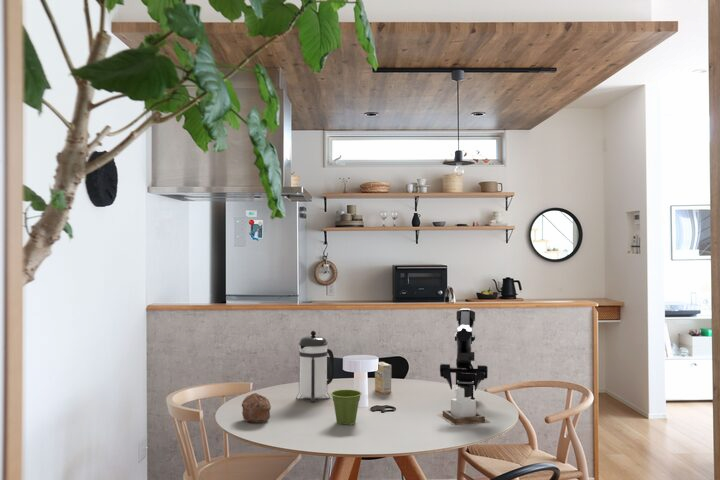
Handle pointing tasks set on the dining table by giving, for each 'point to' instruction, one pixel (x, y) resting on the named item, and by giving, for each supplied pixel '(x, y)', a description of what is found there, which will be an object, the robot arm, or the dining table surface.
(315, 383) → the coffee press
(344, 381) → the dining table surface
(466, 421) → the walnut dock
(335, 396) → the plant pot
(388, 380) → the supplement box
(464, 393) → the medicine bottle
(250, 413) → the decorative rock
